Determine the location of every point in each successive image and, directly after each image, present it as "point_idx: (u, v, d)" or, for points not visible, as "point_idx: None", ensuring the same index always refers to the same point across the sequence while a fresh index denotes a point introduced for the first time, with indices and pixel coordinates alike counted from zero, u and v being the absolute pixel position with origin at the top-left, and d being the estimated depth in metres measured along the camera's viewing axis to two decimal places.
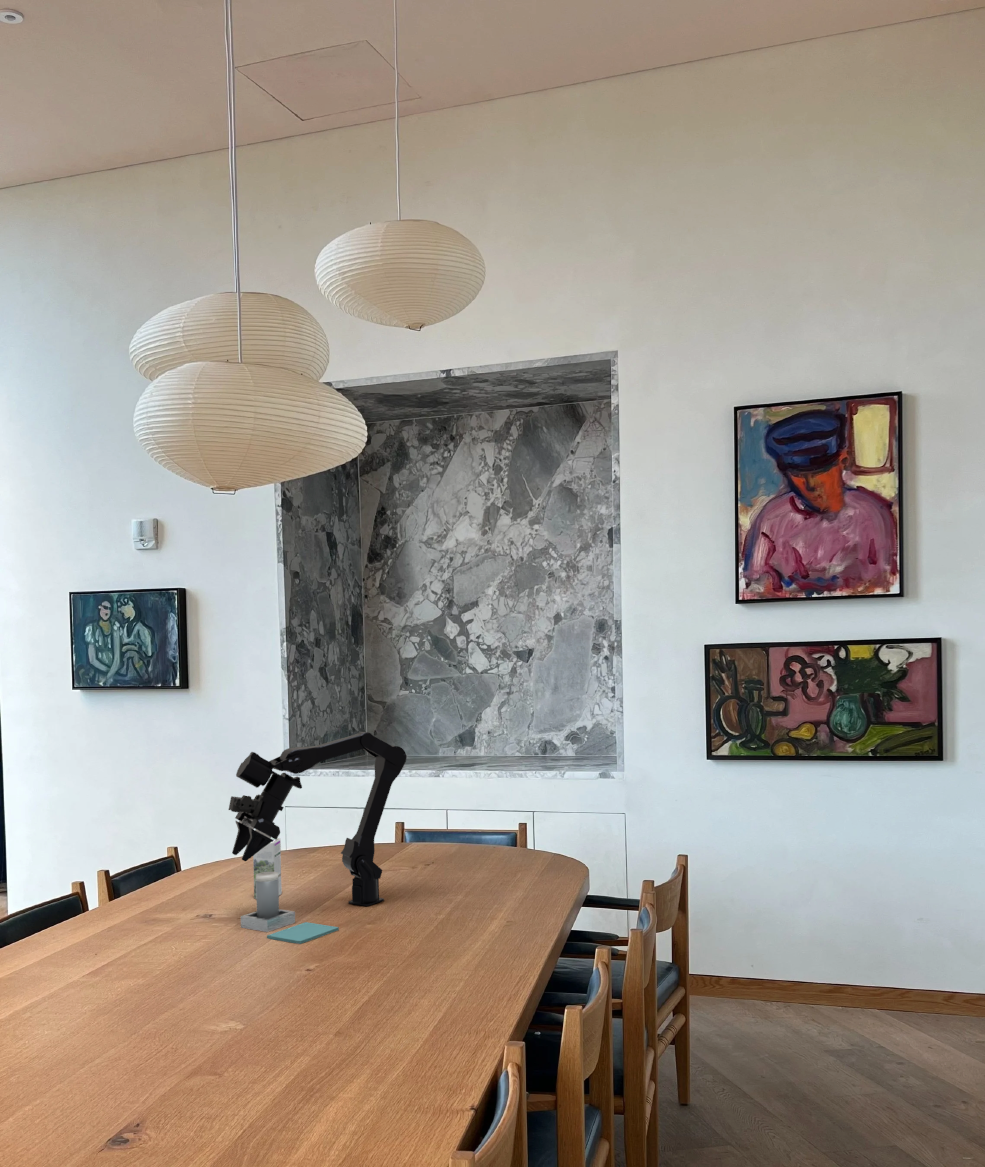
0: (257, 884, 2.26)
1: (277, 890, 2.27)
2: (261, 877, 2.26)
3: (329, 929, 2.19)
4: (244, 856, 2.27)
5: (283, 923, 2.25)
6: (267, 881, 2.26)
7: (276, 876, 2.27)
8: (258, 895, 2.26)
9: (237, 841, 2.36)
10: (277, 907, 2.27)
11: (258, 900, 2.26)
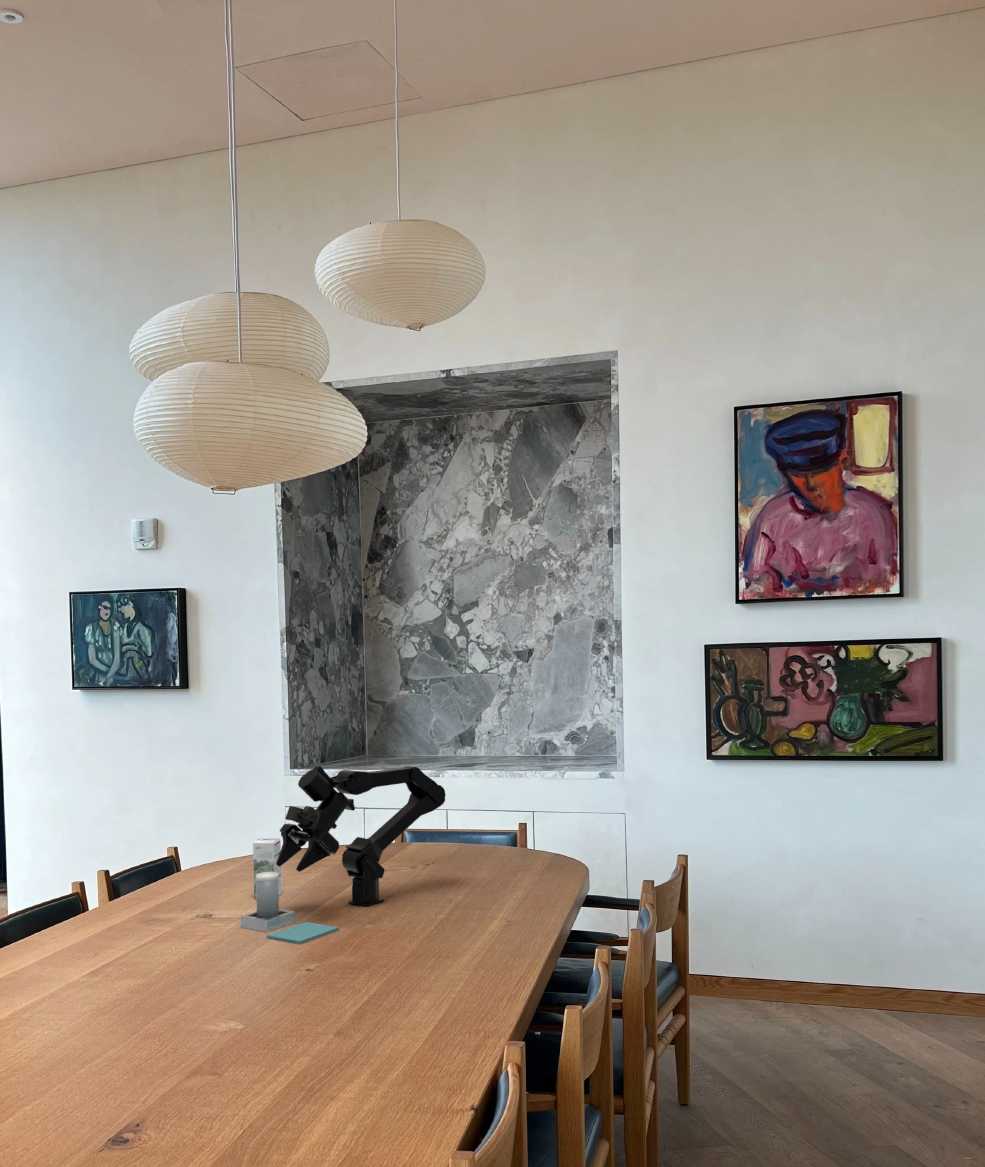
0: (257, 884, 2.26)
1: (277, 890, 2.27)
2: (261, 877, 2.26)
3: (329, 929, 2.19)
4: (299, 866, 2.28)
5: (283, 923, 2.25)
6: (267, 881, 2.26)
7: (276, 876, 2.27)
8: (258, 895, 2.26)
9: (283, 853, 2.36)
10: (277, 907, 2.27)
11: (258, 900, 2.26)
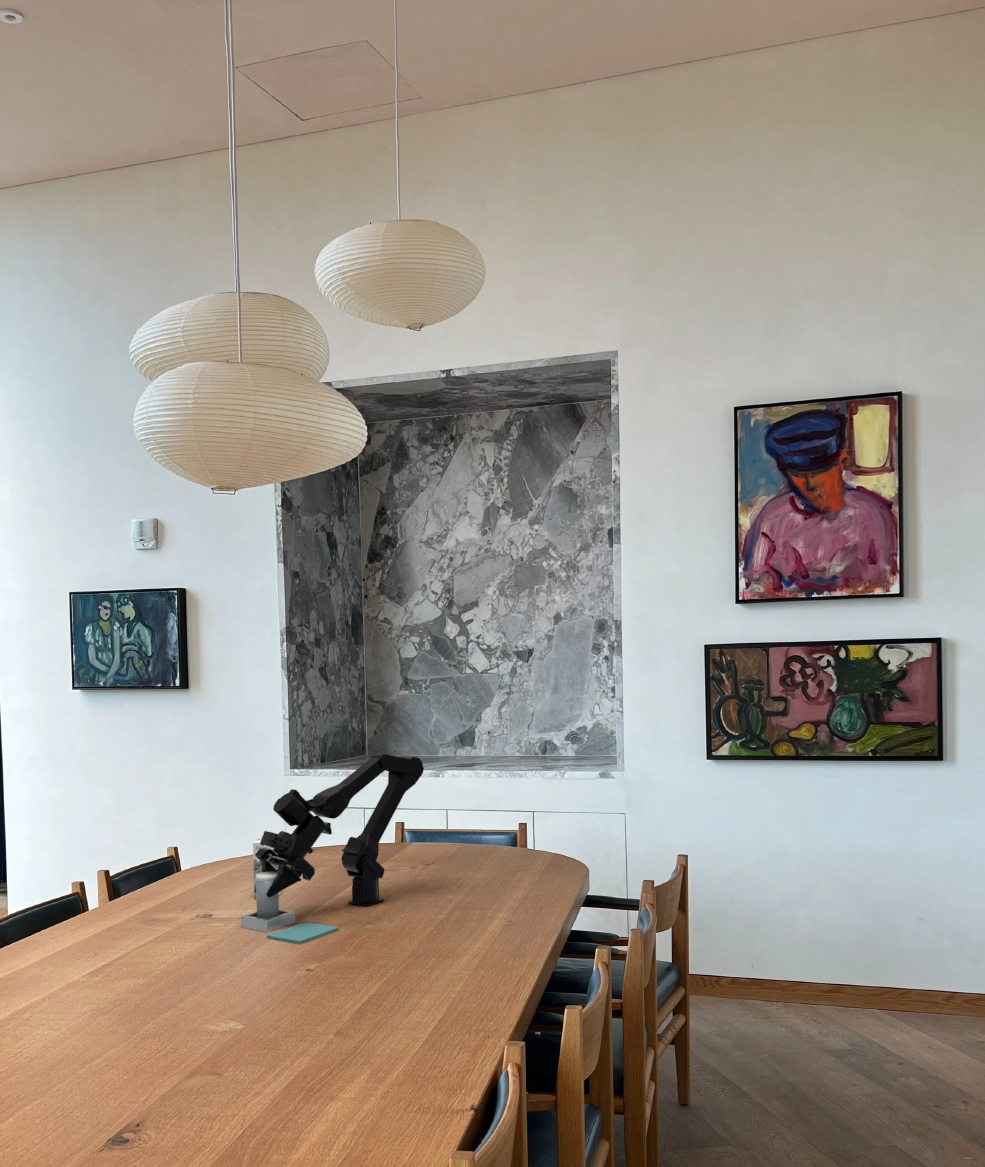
0: (257, 884, 2.26)
1: None
2: (261, 877, 2.26)
3: (329, 929, 2.19)
4: (269, 892, 2.25)
5: (283, 923, 2.25)
6: (267, 881, 2.26)
7: (276, 876, 2.27)
8: (258, 895, 2.26)
9: None
10: (277, 907, 2.27)
11: (258, 900, 2.26)
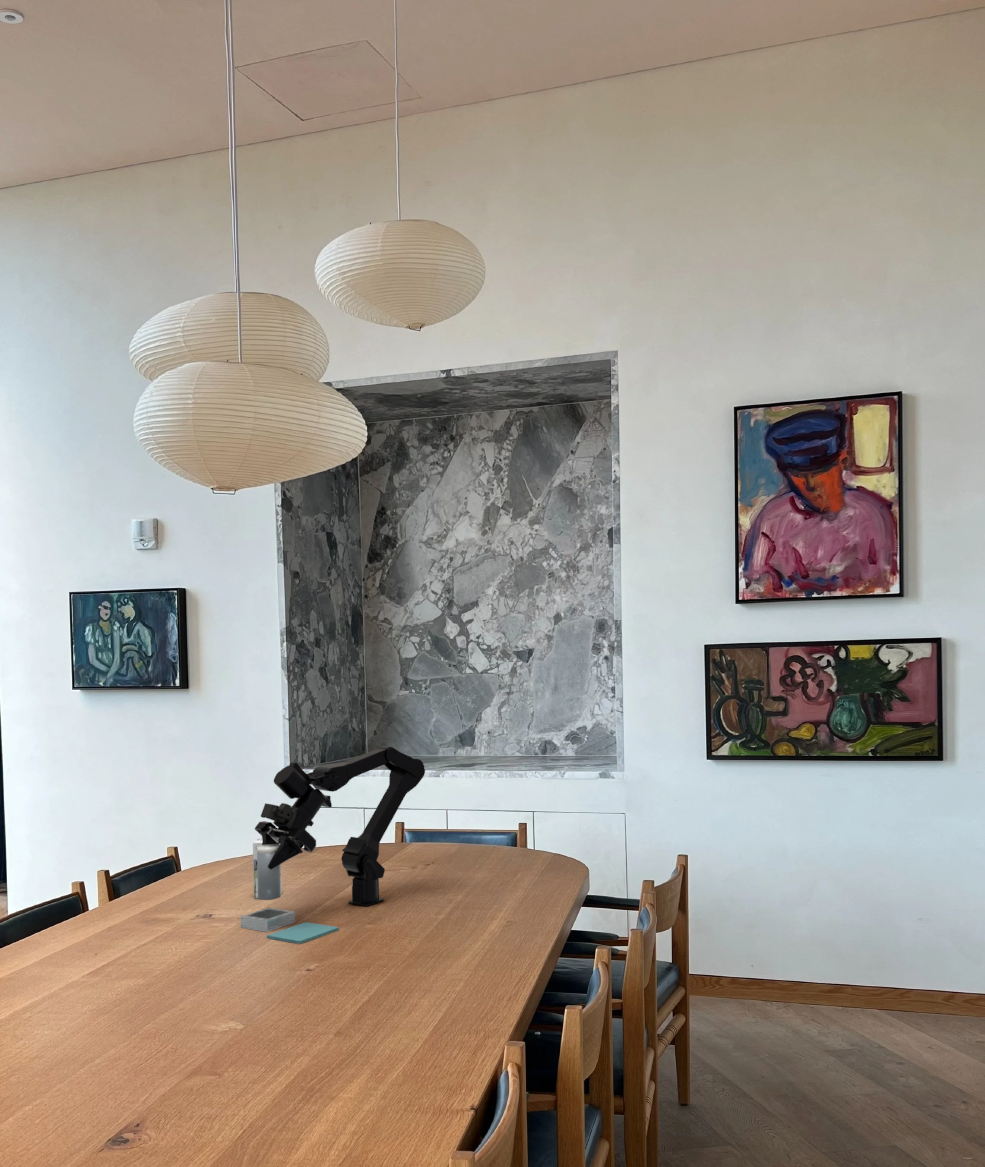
0: (258, 856, 2.26)
1: None
2: (262, 849, 2.25)
3: (329, 929, 2.19)
4: (271, 864, 2.25)
5: (283, 923, 2.25)
6: (268, 853, 2.25)
7: (277, 848, 2.27)
8: (259, 867, 2.26)
9: None
10: (278, 879, 2.27)
11: (259, 872, 2.26)
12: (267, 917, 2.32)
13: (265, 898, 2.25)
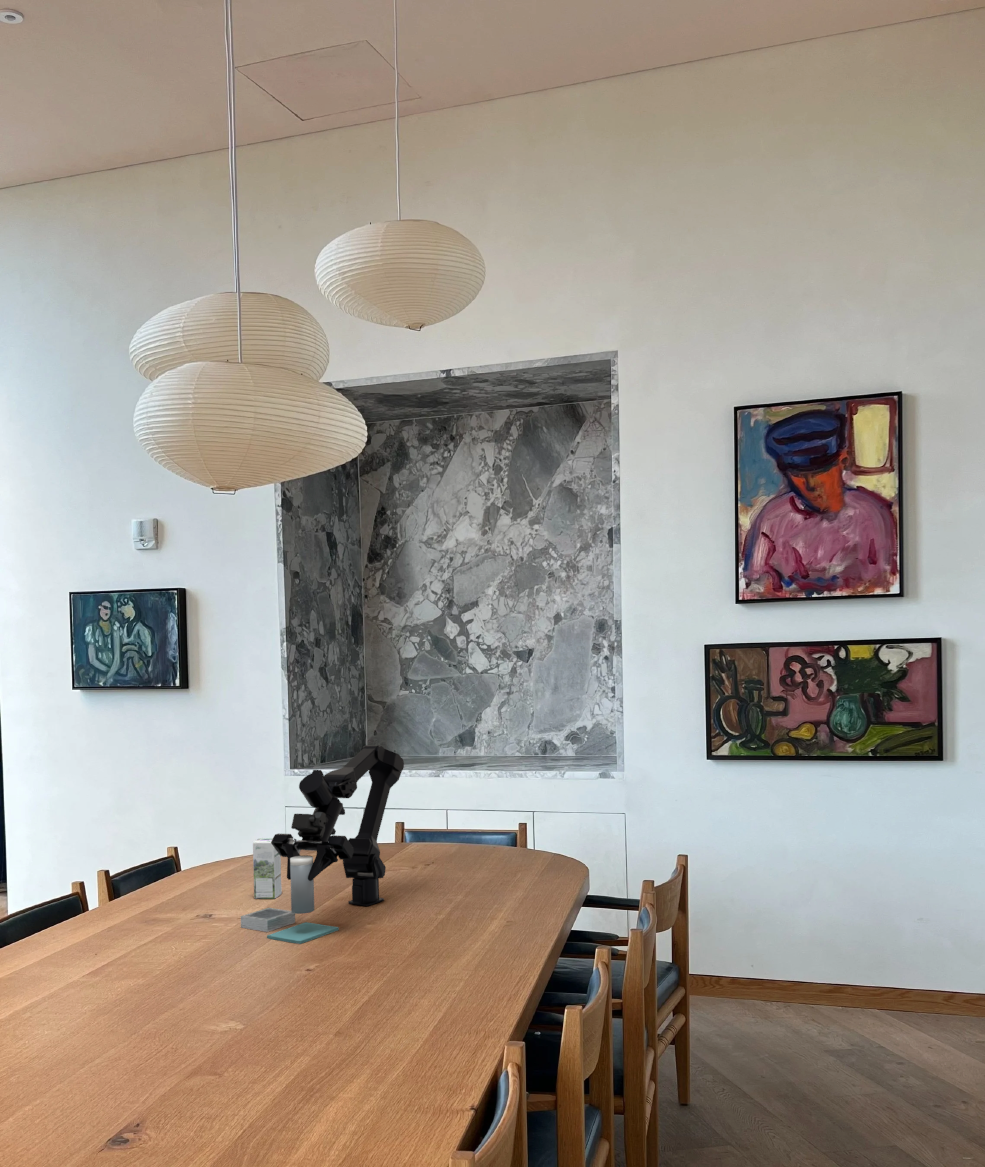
0: (295, 869, 2.17)
1: None
2: (301, 861, 2.17)
3: (329, 929, 2.19)
4: (311, 875, 2.17)
5: (283, 923, 2.25)
6: (307, 864, 2.18)
7: (312, 859, 2.20)
8: (297, 880, 2.17)
9: None
10: (313, 891, 2.20)
11: (297, 885, 2.17)
12: (267, 917, 2.32)
13: (304, 911, 2.17)
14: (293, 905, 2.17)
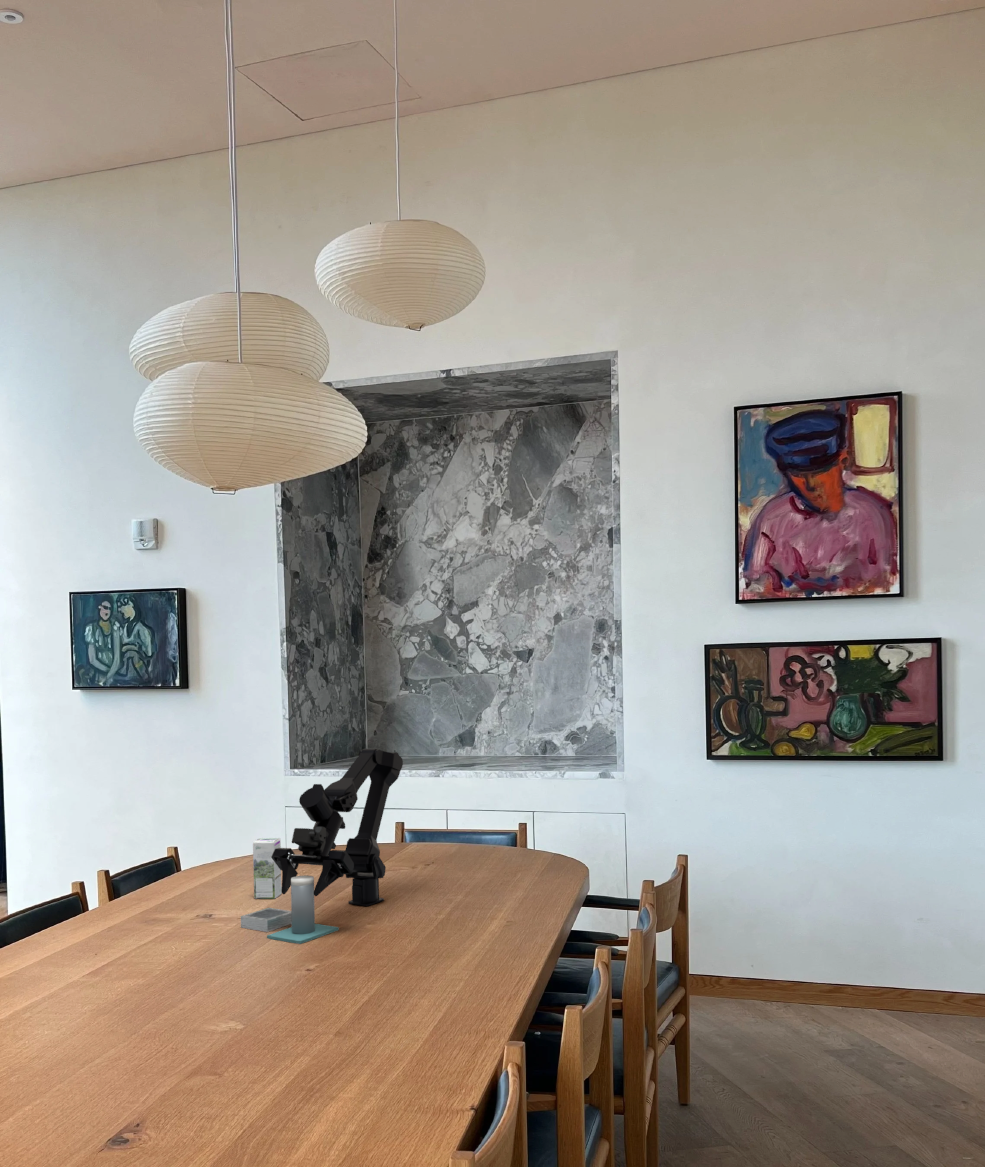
0: (296, 889, 2.17)
1: None
2: (302, 881, 2.17)
3: (329, 929, 2.19)
4: (317, 890, 2.17)
5: (283, 923, 2.25)
6: (308, 884, 2.18)
7: (313, 879, 2.20)
8: (297, 900, 2.17)
9: (286, 879, 2.21)
10: (314, 911, 2.19)
11: (297, 905, 2.17)
12: (267, 917, 2.32)
13: (304, 932, 2.16)
14: (293, 925, 2.17)
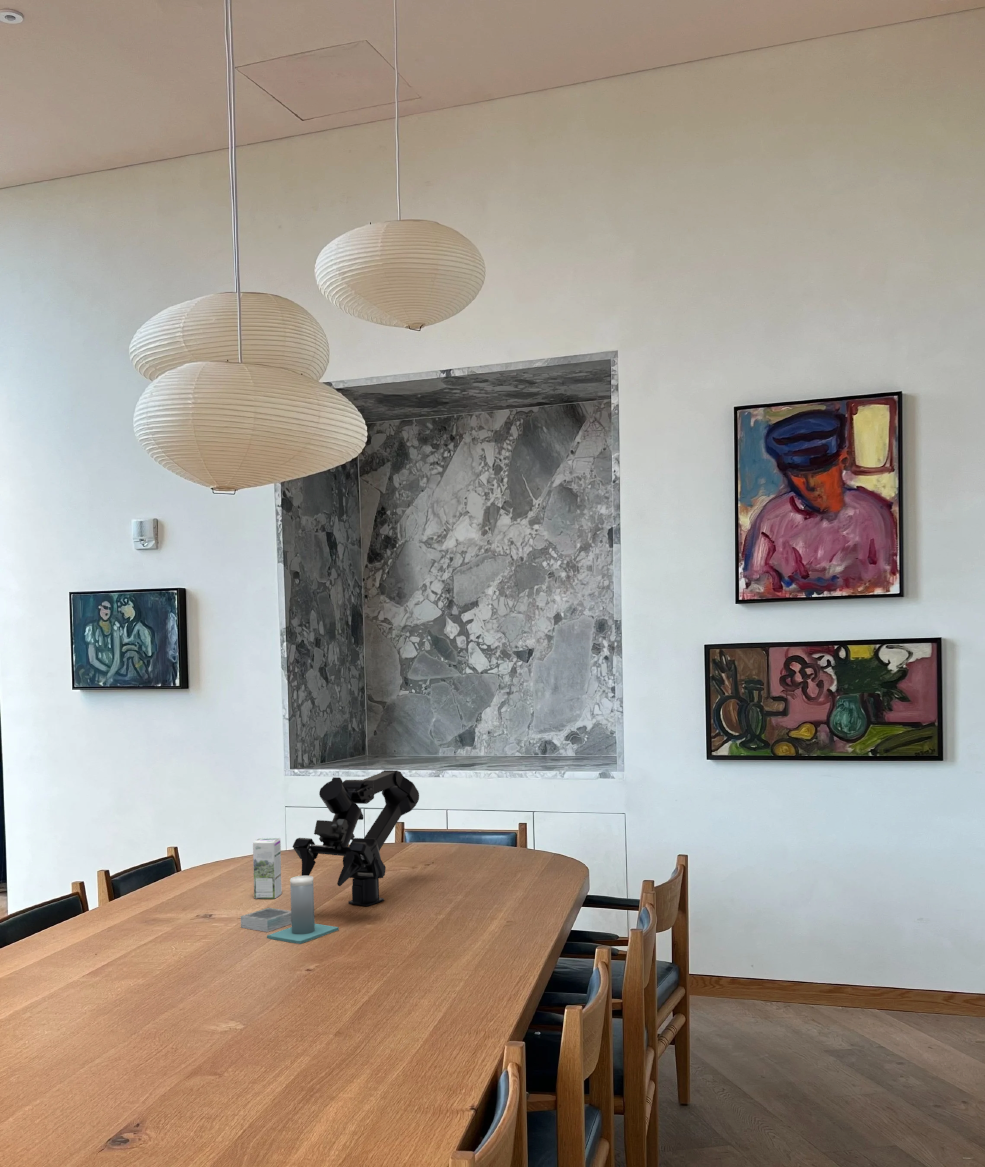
0: (295, 889, 2.17)
1: (313, 893, 2.20)
2: (301, 881, 2.17)
3: (329, 929, 2.19)
4: (340, 880, 2.25)
5: (283, 923, 2.25)
6: (307, 885, 2.17)
7: None
8: (297, 900, 2.17)
9: (305, 868, 2.29)
10: None
11: (297, 906, 2.17)
12: (267, 917, 2.32)
13: (304, 932, 2.16)
14: (293, 926, 2.17)
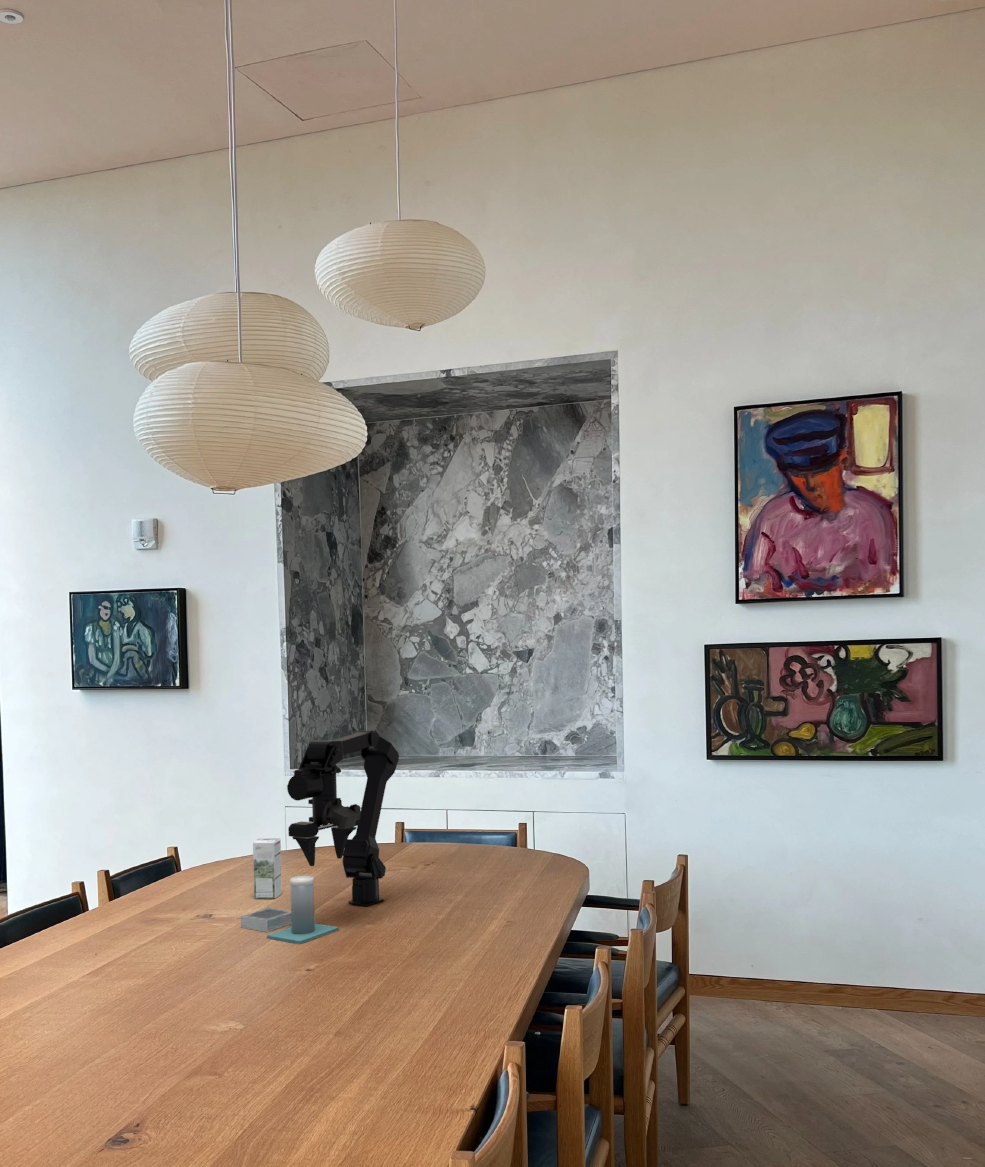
0: (295, 889, 2.17)
1: (313, 893, 2.20)
2: (301, 881, 2.17)
3: (329, 929, 2.19)
4: None
5: (283, 923, 2.25)
6: (307, 884, 2.18)
7: None
8: (297, 900, 2.17)
9: None
10: None
11: (297, 905, 2.17)
12: (267, 917, 2.32)
13: (304, 932, 2.16)
14: (293, 925, 2.17)
